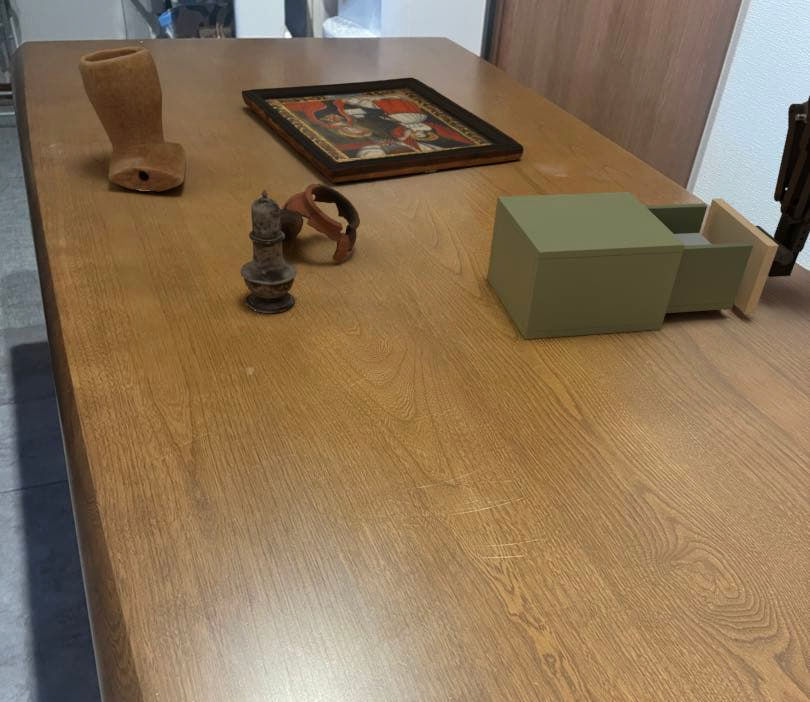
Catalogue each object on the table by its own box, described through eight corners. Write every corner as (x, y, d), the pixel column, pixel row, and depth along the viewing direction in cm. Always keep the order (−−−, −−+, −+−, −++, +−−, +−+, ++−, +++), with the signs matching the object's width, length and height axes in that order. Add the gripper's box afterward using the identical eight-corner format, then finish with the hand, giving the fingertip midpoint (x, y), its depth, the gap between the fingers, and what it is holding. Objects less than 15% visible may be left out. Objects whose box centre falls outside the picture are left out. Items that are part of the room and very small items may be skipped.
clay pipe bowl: (103, 154, 122) (82, 33, 111) (189, 155, 123) (177, 36, 113) (89, 197, 111) (65, 68, 101) (185, 197, 112) (170, 70, 102)
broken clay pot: (301, 228, 109) (334, 175, 103) (346, 284, 107) (382, 233, 102) (231, 232, 100) (263, 174, 94) (279, 293, 98) (314, 238, 93)
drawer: (735, 260, 106) (757, 196, 100) (790, 310, 97) (817, 243, 92) (590, 268, 102) (604, 202, 97) (633, 321, 93) (652, 251, 88)
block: (652, 272, 100) (663, 234, 97) (688, 270, 101) (699, 232, 97) (670, 291, 96) (681, 252, 93) (706, 288, 97) (718, 250, 94)
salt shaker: (268, 283, 97) (262, 173, 88) (309, 300, 94) (306, 189, 86) (231, 302, 93) (221, 190, 85) (272, 321, 91) (266, 207, 83)
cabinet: (611, 272, 104) (630, 191, 97) (660, 329, 94) (685, 244, 87) (486, 279, 100) (497, 196, 94) (524, 339, 91) (539, 251, 84)
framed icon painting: (543, 156, 131) (546, 136, 129) (344, 197, 115) (344, 175, 113) (402, 85, 153) (403, 67, 151) (218, 111, 138) (217, 91, 136)
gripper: (792, 28, 89) (720, 249, 105) (869, 66, 79) (777, 302, 96) (856, 29, 90) (775, 247, 106) (938, 66, 81) (836, 299, 97)
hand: (776, 273), depth 101 cm, fingers closed
